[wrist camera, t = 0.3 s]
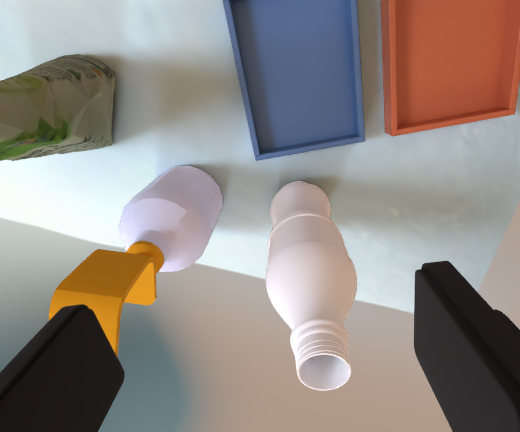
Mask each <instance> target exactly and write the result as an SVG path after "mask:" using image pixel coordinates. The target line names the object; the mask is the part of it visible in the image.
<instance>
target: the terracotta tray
mask: <svg viewBox="0 0 520 432" xmlns="http://www.w3.org/2000/svg"><path fill="white" fill-rule="evenodd" d="M381 27H382V58H383V89H384V121H385V133H387V134H389V135H391V136H396V135H402V134H407V133H413V132H419V131H424V130H430V129H435V128H441V127H446V126H452V125H457V124H463V123H469V122H474V121H480V120H485V119H491V118H496V117H502V116H507V115H513V114H515V110H516V109H515V108H516V102H517V95H518V87H519V79H520V0H381Z"/></svg>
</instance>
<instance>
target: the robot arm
mask: <svg viewBox="0 0 520 432" xmlns="http://www.w3.org/2000/svg"><path fill="white" fill-rule="evenodd" d="M414 349H415V353H416V356H417V358H418V361H419V363H420V365H421V367H422V369H423V371H424V373H425V375H426V377H427V379H428V382H429V384H430V386H431V388H432V390H433V392H434V394H435V396H436V398H437V400H438V402H439V404H440V406H441V408H442V410H443V412H444V415H445V416H446V418H447V420H448V423H449V425H450V427H451V429H452V431H453V432H520V330H519V329H518V328H517V327H516V326H515V324H513V322H512V321H511V320H510V319H509V318H508V317H507V316H506V315H505V314H503V313H502V312H501V311H498V310H493V309H492V308H491V307H490V306H489V305H488V304H487V302H486V301H485V300H484V299H483V298H482V297H481V296H480V295H479V294H478V293H477V291H476V290H475V289H474V288H473V287H472V286H471V285H470V284H469V283H468V282H467V280H466V279H465V278H464V277H463V276H462V275H461V274H460V273H459V272H458V271H457V270H456V268H455V267H454V266H453V265H452V264H451V263H450V262H449V261H440V262H432V263H424V264H423V265H422V269H421V270H416V272H415V309H414ZM123 381H124V370H123V368H122V366H121V364H120V362H119V360H118V358H117V356H116V354H115V352H114V350H113V348H112V346H111V344H110V342H109V340H108V338H107V337H106V335H105V333H104V331H103V329H102V327H101V325H100V323H99V321H98V319H97V317H96V315H95V313H94V311H93V310H92V309H89V307H88V306H86V305H84V304H80V305H71V306H65V307H62V308H61V309H60V310H59V311H58V312H57V313H56V314H55V315H54V316H53V317H52V318H51V319H50V320H49V322H48V323H47V324H46V325H45V326H44V327H43V328H42V329H41V330H40V331H39V332H38V333H37V334H36V335H35V336H34V337H33V338H32V339H31V340H30V342H29V343H28V344H27V345H26V346H25V347H24V348H23V349H22V350H21V351H20V352H19V353H18V354H17V355H16V356H15V357H14V358H13V359H12V361H11V362H10V363H9V364H8V365H7V366H6V367H5V368H4V369H3V370H2V371H1V372H0V432H98V430H99V428H100V426H101V424H102V422H103V421H104V418H105V416H106V415H107V413H108V411H109V409H110V407H111V405H112V403H113V401H114V399H115V397H116V395H117V393H118V391H119V389H120V387H121V385H122V383H123Z"/></svg>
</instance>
